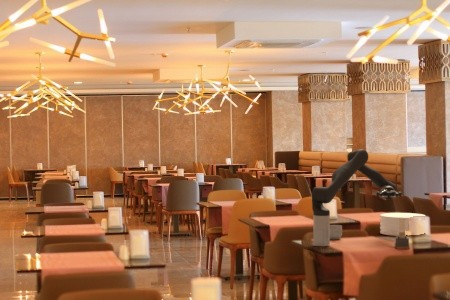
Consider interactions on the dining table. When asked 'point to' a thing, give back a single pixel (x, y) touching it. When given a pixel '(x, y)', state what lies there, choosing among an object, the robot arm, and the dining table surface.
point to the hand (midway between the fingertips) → (389, 195)
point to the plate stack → (394, 222)
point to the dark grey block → (402, 243)
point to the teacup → (335, 231)
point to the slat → (401, 227)
